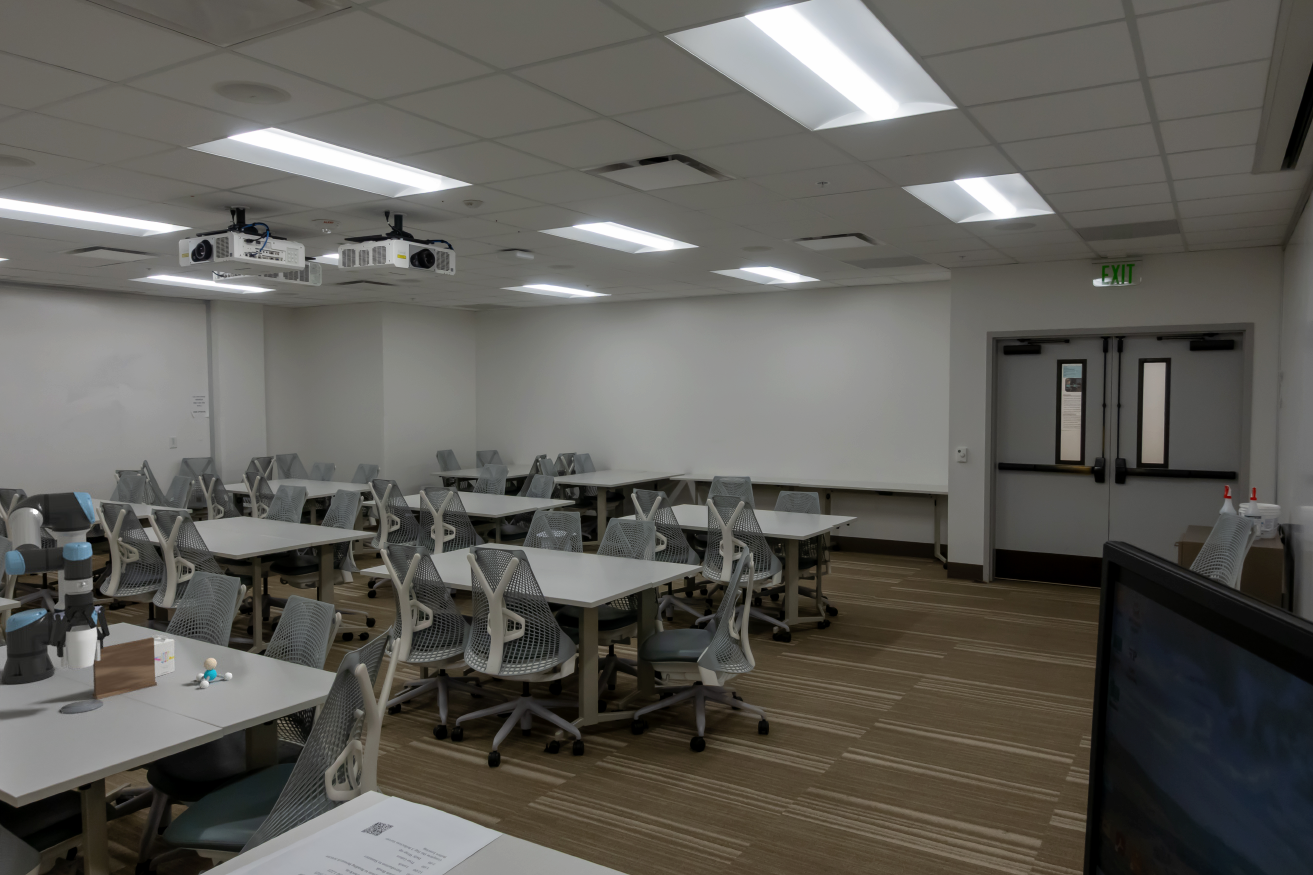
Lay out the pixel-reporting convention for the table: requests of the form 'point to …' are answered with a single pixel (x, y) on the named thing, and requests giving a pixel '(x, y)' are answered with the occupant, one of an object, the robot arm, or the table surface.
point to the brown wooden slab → (124, 668)
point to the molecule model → (210, 673)
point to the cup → (81, 646)
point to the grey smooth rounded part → (81, 706)
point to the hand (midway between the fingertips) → (80, 663)
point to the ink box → (163, 655)
